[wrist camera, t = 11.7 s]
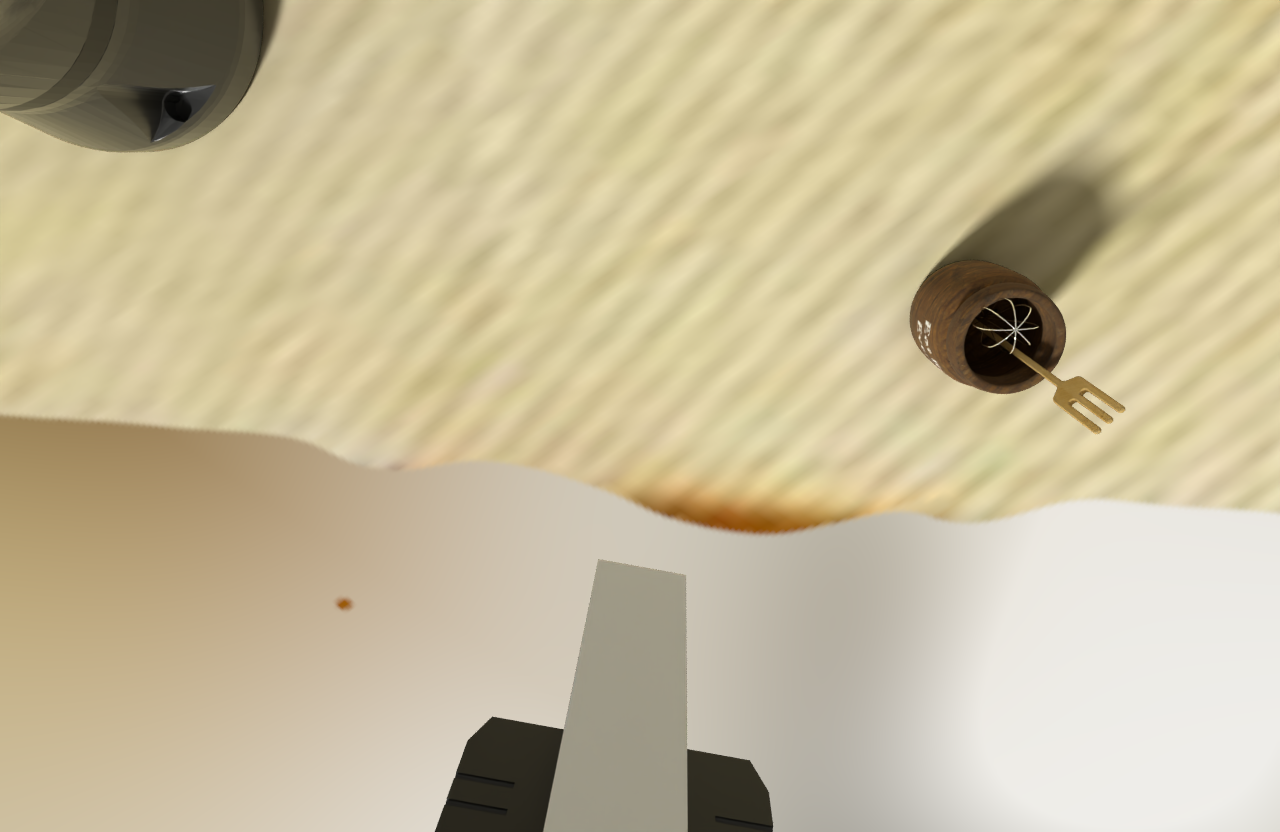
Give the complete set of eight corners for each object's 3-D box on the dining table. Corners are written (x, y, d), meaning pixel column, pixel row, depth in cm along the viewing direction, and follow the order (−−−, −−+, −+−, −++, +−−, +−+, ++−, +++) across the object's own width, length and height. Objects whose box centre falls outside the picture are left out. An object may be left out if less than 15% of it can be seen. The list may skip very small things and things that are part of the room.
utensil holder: (964, 233, 43) (1065, 266, 32) (1045, 310, 44) (1172, 370, 33) (882, 317, 45) (950, 377, 33) (962, 390, 46) (1055, 472, 34)
